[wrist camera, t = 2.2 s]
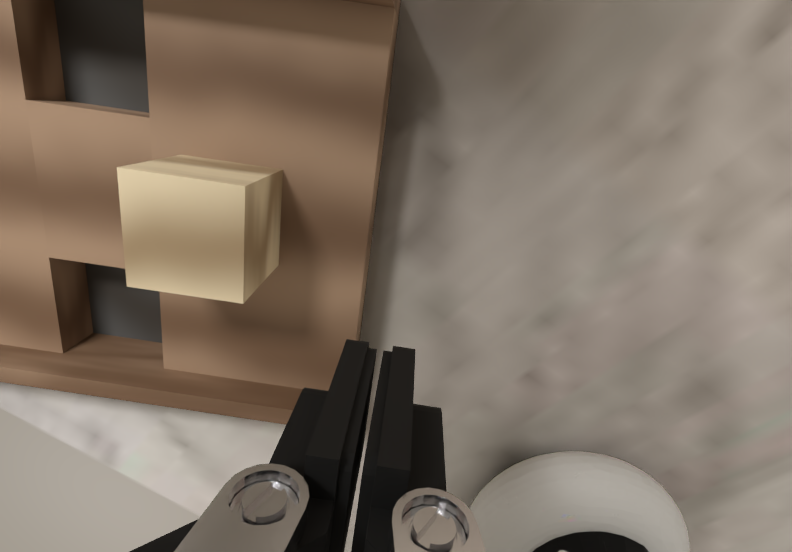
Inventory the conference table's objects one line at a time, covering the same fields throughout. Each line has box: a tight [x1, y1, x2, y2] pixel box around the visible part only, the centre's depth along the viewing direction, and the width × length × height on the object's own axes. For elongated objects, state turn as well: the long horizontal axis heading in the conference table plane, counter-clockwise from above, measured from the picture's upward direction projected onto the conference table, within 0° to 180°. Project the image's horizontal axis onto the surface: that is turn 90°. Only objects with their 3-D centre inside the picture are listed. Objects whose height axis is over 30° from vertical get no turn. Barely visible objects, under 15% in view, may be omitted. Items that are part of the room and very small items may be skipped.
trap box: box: [0, 0, 401, 424], centre depth 23 cm, size 22×28×5 cm
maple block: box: [117, 155, 283, 304], centre depth 21 cm, size 5×5×5 cm
